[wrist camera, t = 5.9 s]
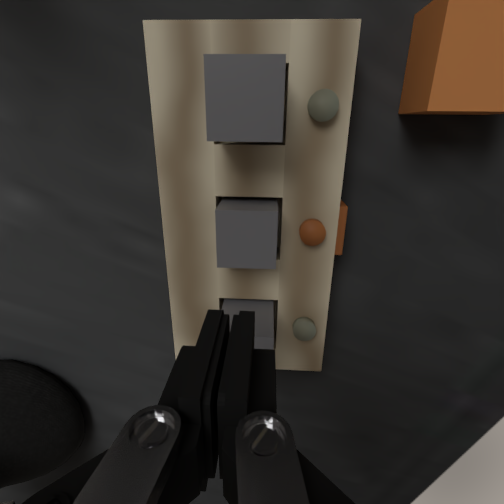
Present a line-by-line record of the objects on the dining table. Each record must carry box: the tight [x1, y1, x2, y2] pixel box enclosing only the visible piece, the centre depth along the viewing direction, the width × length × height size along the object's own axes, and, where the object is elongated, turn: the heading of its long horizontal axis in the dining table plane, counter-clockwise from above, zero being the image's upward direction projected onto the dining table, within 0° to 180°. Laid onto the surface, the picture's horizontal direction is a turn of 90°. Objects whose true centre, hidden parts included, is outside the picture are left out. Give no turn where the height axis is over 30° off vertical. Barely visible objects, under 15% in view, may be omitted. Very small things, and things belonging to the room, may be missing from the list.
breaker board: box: [143, 19, 361, 371], centre depth 27 cm, size 15×28×5 cm, turn 179°
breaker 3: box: [222, 298, 274, 349], centre depth 27 cm, size 4×4×6 cm
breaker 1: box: [203, 54, 286, 142], centre depth 20 cm, size 4×4×6 cm
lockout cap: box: [398, 0, 504, 115], centre depth 22 cm, size 7×7×5 cm
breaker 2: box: [215, 196, 278, 269], centre depth 25 cm, size 4×4×6 cm
